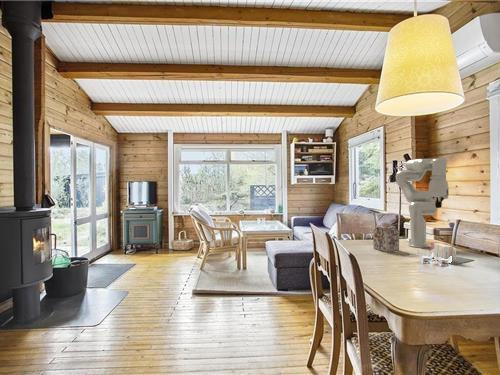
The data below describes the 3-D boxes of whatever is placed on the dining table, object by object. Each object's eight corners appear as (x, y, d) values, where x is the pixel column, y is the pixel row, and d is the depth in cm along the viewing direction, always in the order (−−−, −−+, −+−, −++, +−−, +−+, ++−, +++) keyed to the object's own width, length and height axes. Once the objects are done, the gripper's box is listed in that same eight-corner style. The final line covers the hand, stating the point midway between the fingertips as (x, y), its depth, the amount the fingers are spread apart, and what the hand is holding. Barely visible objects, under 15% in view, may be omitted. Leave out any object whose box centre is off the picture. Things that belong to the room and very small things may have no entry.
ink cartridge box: (430, 242, 173) (447, 247, 159) (438, 242, 174) (456, 247, 159) (430, 256, 173) (447, 263, 159) (438, 256, 173) (456, 263, 159)
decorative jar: (385, 247, 204) (385, 221, 204) (399, 250, 194) (399, 223, 194) (372, 249, 199) (372, 222, 199) (386, 252, 189) (386, 224, 189)
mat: (428, 259, 168) (428, 258, 168) (447, 255, 178) (447, 254, 178) (454, 265, 156) (454, 264, 156) (474, 260, 165) (474, 259, 165)
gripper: (423, 178, 186) (422, 207, 187) (448, 178, 173) (447, 209, 173) (430, 178, 189) (430, 206, 190) (455, 178, 176) (454, 208, 177)
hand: (438, 207), depth 182 cm, fingers closed
